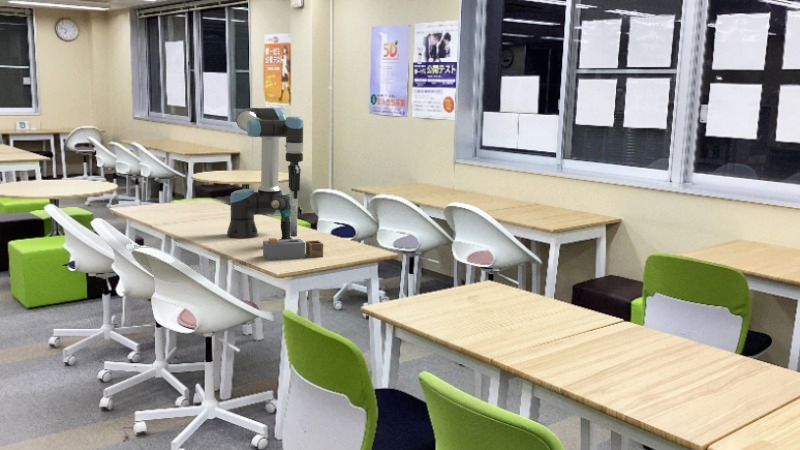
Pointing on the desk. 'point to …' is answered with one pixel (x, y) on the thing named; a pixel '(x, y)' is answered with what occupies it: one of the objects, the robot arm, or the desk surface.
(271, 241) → the plunger
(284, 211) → the power drill
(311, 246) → the hollow brown square tube
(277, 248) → the socket block
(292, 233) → the cylinder
